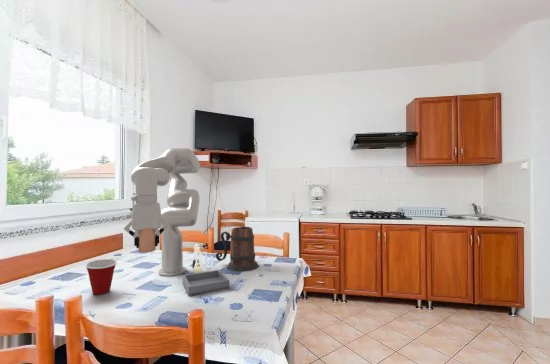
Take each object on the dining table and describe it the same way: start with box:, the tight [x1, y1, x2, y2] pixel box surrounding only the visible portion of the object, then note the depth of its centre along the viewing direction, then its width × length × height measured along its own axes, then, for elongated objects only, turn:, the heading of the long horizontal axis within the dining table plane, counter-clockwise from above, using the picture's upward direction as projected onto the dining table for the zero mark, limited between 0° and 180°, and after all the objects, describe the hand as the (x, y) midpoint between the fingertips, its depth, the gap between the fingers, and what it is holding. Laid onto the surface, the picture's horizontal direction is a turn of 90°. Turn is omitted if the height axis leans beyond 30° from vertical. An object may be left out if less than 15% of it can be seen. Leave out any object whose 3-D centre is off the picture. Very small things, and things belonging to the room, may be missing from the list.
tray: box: [181, 269, 230, 297], centre depth 115 cm, size 16×16×4 cm
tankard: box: [215, 226, 260, 273], centre depth 143 cm, size 24×17×20 cm
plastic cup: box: [84, 258, 118, 296], centre depth 109 cm, size 11×11×12 cm
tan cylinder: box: [137, 228, 157, 254], centre depth 105 cm, size 6×6×9 cm
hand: (147, 246), depth 105 cm, fingers closed on tan cylinder, 6 cm apart
